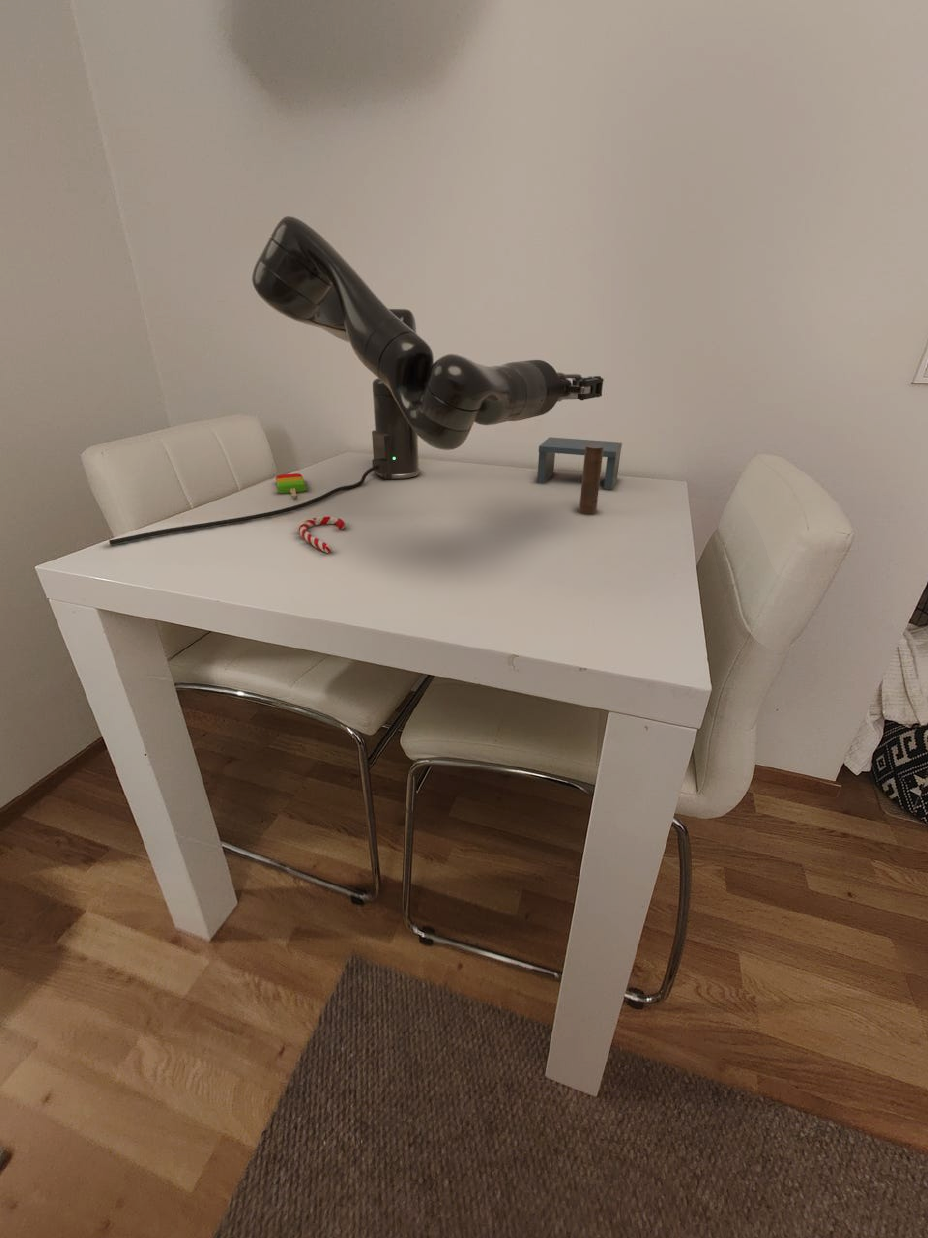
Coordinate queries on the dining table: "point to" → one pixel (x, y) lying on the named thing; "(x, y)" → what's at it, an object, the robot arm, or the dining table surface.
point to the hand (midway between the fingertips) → (573, 381)
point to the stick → (591, 478)
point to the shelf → (577, 448)
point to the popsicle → (290, 483)
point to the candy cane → (314, 522)
